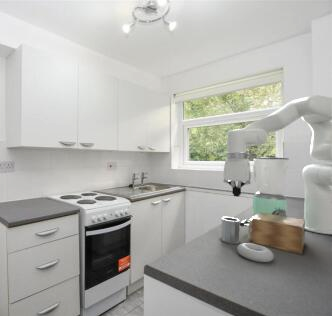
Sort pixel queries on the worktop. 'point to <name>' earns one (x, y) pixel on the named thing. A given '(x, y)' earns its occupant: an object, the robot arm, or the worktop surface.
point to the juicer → (269, 185)
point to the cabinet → (279, 232)
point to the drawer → (244, 223)
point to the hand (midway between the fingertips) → (236, 196)
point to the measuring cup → (230, 230)
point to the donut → (255, 252)
